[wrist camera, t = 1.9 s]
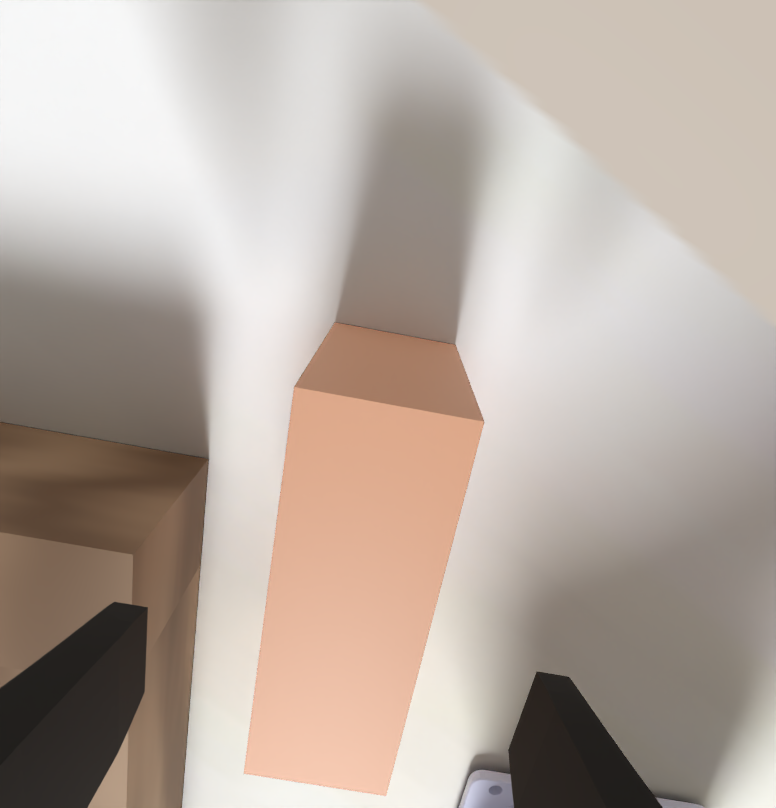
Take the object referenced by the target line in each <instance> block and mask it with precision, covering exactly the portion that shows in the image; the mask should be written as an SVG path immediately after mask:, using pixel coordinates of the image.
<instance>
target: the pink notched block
mask: <svg viewBox="0 0 776 808" xmlns="http://www.w3.org/2000/svg"><path fill="white" fill-rule="evenodd" d="M483 425H484V420H483V417H482V414H481V412H480V409H479V406H478V404H477V401H476V398H475V396H474V393H473V390H472V388H471V385H470V382H469V380H468V377H467V374H466V372H465V369H464V366H463V364H462V361H461V359H460V356H459V353H458V351H457V348H456V345H453V344H448V343H443V342H437V341H432V340H427V339H421V338H416V337H411V336H405V335H400V334H395V333H389V332H384V331H379V330H373V329H368V328H363V327H357V326H352V325H347V324H341V323H336V322H335V323H334V324H333V326H332V328H331V329H330V331H329V332H328V334H327V336H326V337H325V339H324V340H323V342H322V344H321V345H320V347H319V348H318V350H317V352H316V353H315V355H314V356H313V358H312V359H311V361H310V363H309V364H308V366H307V367H306V369H305V371H304V372H303V374H302V375H301V377H300V379H299V380H298V382H297V383H296V385H295V387H294V393H293V400H292V408H291V416H290V423H289V431H288V439H287V446H286V454H285V462H284V469H283V477H282V484H281V492H280V500H279V507H278V515H277V523H276V530H275V538H274V546H273V553H272V561H271V569H270V576H269V584H268V592H267V599H266V607H265V615H264V622H263V630H262V638H261V645H260V653H259V661H258V668H257V676H256V683H255V691H254V699H253V706H252V714H251V722H250V729H249V737H248V745H247V752H246V760H245V768H244V774H250V775H256V776H262V777H269V778H275V779H281V780H288V781H294V782H300V783H307V784H313V785H319V786H326V787H332V788H338V789H345V790H351V791H357V792H364V793H370V794H376V795H383V796H386V794H387V790H388V786H389V783H390V779H391V775H392V771H393V767H394V764H395V760H396V756H397V752H398V748H399V745H400V741H401V737H402V733H403V729H404V725H405V722H406V718H407V714H408V710H409V706H410V703H411V699H412V695H413V691H414V687H415V684H416V680H417V676H418V672H419V668H420V665H421V661H422V657H423V653H424V649H425V646H426V642H427V638H428V634H429V630H430V626H431V623H432V619H433V615H434V611H435V607H436V604H437V600H438V596H439V592H440V588H441V585H442V581H443V577H444V573H445V569H446V566H447V562H448V558H449V554H450V550H451V546H452V543H453V539H454V535H455V531H456V527H457V524H458V520H459V516H460V512H461V508H462V505H463V501H464V497H465V493H466V489H467V486H468V482H469V478H470V474H471V470H472V466H473V463H474V459H475V455H476V451H477V447H478V444H479V440H480V436H481V432H482V428H483Z"/></svg>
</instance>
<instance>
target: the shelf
mask: <svg viewBox="0 0 776 808" xmlns="http://www.w3.org/2000/svg"><path fill="white" fill-rule="evenodd" d="M208 461H209V459H205V458H199V457H194V456H188V455H182V454H177V453H171V452H165V451H160V450H154V449H148V448H143V447H137V446H131V445H126V444H120V443H115V442H109V441H103V440H98V439H92V438H86V437H81V436H75V435H69V434H64V433H58V432H52V431H47V430H41V429H36V428H30V427H24V426H19V425H13V424H7V423H2V422H0V688H1V687H2V686H3V685H5V684H6V683H7V682H9V681H10V680H11V679H13V678H14V677H15V676H17V675H18V674H20V673H21V672H22V671H24V670H25V669H26V668H28V667H29V666H30V665H32V664H33V663H34V662H36V661H37V660H38V659H40V658H41V657H42V656H44V655H45V654H46V653H48V652H49V651H50V650H52V649H53V648H54V647H55V646H57V645H58V644H59V643H61V642H62V641H63V640H65V639H66V638H67V637H68V636H70V635H71V634H72V633H74V632H75V631H76V630H77V629H79V628H80V627H81V626H83V625H84V624H85V623H86V622H88V621H89V620H90V619H91V618H93V617H94V616H95V615H97V614H98V613H99V612H100V611H102V610H103V609H104V608H106V607H107V606H108V605H110V604H111V603H113V602H119V603H125V604H131V605H137V606H143V607H148V620H147V646H146V673H145V693H144V695H143V697H142V700H141V702H140V704H139V707H138V709H137V711H136V714H135V716H134V718H133V721H132V723H131V725H130V728H129V730H128V732H127V734H126V736H125V739H124V741H123V743H122V745H121V747H120V750H119V752H118V754H117V756H116V758H115V759H114V761H113V763H112V765H111V767H110V768H109V770H108V772H107V774H106V776H105V777H104V779H103V781H102V783H101V784H100V786H99V788H98V790H97V792H96V793H95V795H94V797H93V799H92V800H91V802H90V804H89V806H88V808H182V796H183V783H184V770H185V757H186V744H187V731H188V719H189V706H190V693H191V680H192V667H193V654H194V641H195V628H196V616H197V603H198V590H199V577H200V564H201V551H202V538H203V525H204V513H205V500H206V487H207V474H208Z"/></svg>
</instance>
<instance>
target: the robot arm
mask: <svg viewBox="0 0 776 808" xmlns="http://www.w3.org/2000/svg"><path fill="white" fill-rule="evenodd" d="M147 620H148V607H143V606H137V605H131V604H125V603H119V602H113V603H111V604H110V605H108V606H107V607H106V608H104V609H103V610H102V611H100V612H99V613H98V614H97V615H95V616H94V617H93V618H91V619H90V620H89V621H88V622H86V623H85V624H84V625H83V626H81V627H80V628H79V629H77V630H76V631H75V632H74V633H72V634H71V635H70V636H68V637H67V638H66V639H65V640H63V641H62V642H61V643H59V644H58V645H57V646H55V647H54V648H53V649H52V650H50V651H49V652H48V653H46V654H45V655H44V656H42V657H41V658H40V659H38V660H37V661H36V662H34V663H33V664H32V665H30V666H29V667H28V668H26V669H25V670H24V671H22V672H21V673H20V674H18V675H17V676H15V677H14V678H13V679H11V680H10V681H9V682H7V683H6V684H5V685H3V686H2V687H1V688H0V808H88V806H89V804H90V802H91V800H92V799H93V797H94V795H95V793H96V792H97V790H98V788H99V786H100V784H101V783H102V781H103V779H104V777H105V776H106V774H107V772H108V770H109V768H110V767H111V765H112V763H113V761H114V759H115V758H116V756H117V754H118V752H119V750H120V747H121V745H122V743H123V741H124V739H125V736H126V734H127V732H128V730H129V728H130V725H131V723H132V721H133V718H134V716H135V714H136V711H137V709H138V707H139V704H140V702H141V700H142V697H143V695H144V693H145V673H146V646H147ZM508 751H509V762H510V774H507V773H501V772H495V771H488V770H477V771H474V772H473V773H471V775H470V776H469V778H468V781H467V784H466V787H465V790H464V793H463V796H462V799H461V802H460V805H459V808H705V807H703V806H701V805H698V804H694V803H687V802H681V801H675V800H669V799H663V798H656V797H655V796H654V795H653V794H652V793H651V791H650V790H649V788H648V787H647V786H646V784H645V783H644V782H643V780H642V779H641V778H640V776H639V775H638V774H637V772H636V771H635V769H634V768H633V767H632V765H631V764H630V763H629V761H628V760H627V758H626V757H625V756H624V754H623V753H622V751H621V750H620V749H619V747H618V746H617V744H616V743H615V742H614V740H613V739H612V737H611V736H610V734H609V733H608V732H607V730H606V729H605V727H604V726H603V725H602V723H601V722H600V720H599V719H598V717H597V716H596V715H595V713H594V712H593V710H592V709H591V707H590V706H589V705H588V703H587V702H586V700H585V699H584V697H583V696H582V695H581V693H580V692H579V690H578V689H577V687H576V686H575V685H574V683H573V682H572V680H571V679H570V678H569V677H566V676H560V675H554V674H548V673H542V672H537V673H536V675H535V678H534V681H533V684H532V686H531V689H530V692H529V695H528V697H527V700H526V703H525V706H524V708H523V711H522V714H521V717H520V720H519V722H518V725H517V728H516V731H515V733H514V736H513V739H512V742H511V744H510V747H509V750H508Z"/></svg>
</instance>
